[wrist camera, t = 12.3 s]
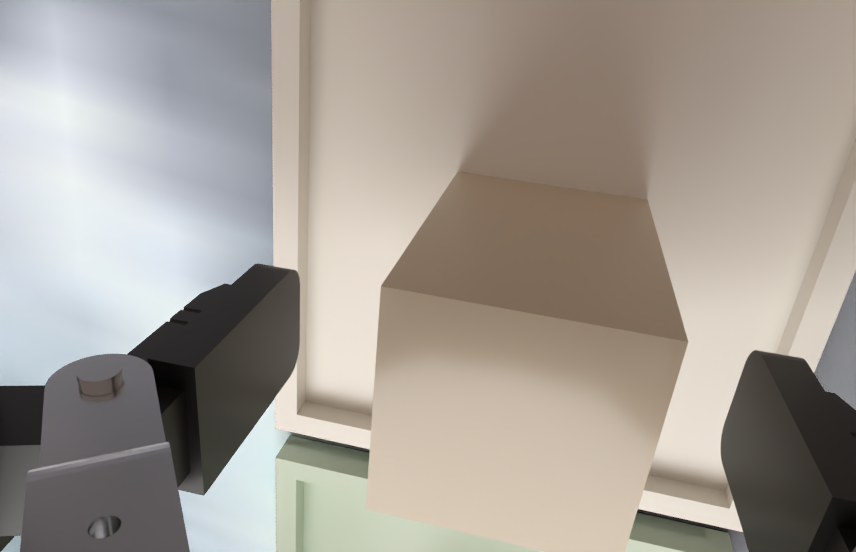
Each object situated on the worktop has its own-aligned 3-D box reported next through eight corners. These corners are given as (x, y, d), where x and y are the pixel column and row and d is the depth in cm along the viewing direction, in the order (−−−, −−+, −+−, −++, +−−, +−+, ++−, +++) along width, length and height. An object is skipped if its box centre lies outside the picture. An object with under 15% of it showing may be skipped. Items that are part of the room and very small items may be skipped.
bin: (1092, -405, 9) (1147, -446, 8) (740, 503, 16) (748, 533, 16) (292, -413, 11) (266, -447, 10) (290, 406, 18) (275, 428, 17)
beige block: (647, 199, 14) (688, 342, 8) (607, 363, 15) (619, 568, 10) (458, 171, 14) (381, 285, 9) (439, 331, 16) (365, 509, 11)
